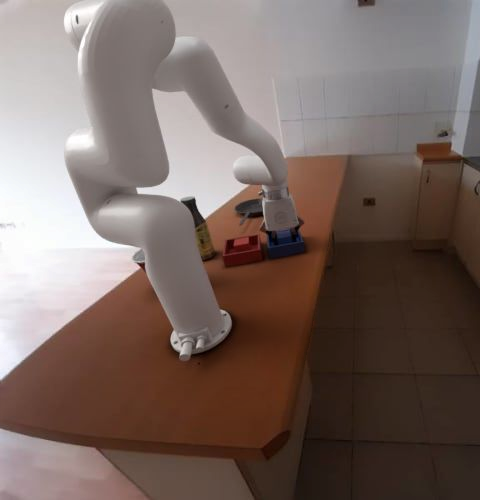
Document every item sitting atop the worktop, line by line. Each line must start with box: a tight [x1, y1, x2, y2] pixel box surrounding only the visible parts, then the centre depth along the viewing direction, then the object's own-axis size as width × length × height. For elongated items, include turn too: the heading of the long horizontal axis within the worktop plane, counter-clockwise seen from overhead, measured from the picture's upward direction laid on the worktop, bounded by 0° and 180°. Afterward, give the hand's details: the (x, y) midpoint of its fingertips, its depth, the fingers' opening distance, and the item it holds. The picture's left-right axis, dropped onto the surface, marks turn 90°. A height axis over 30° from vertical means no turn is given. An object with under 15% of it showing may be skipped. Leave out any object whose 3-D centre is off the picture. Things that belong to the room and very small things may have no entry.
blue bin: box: [265, 228, 306, 260], centre depth 92 cm, size 11×11×4 cm
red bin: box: [222, 233, 264, 268], centre depth 90 cm, size 11×11×4 cm
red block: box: [234, 237, 252, 253], centre depth 89 cm, size 4×4×4 cm
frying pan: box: [234, 197, 264, 226], centre depth 117 cm, size 18×32×4 cm, turn 1°
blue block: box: [276, 230, 293, 245], centre depth 92 cm, size 4×4×4 cm
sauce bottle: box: [179, 195, 216, 261], centre depth 87 cm, size 6×6×20 cm
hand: (285, 244), depth 93 cm, fingers open, 4 cm apart
